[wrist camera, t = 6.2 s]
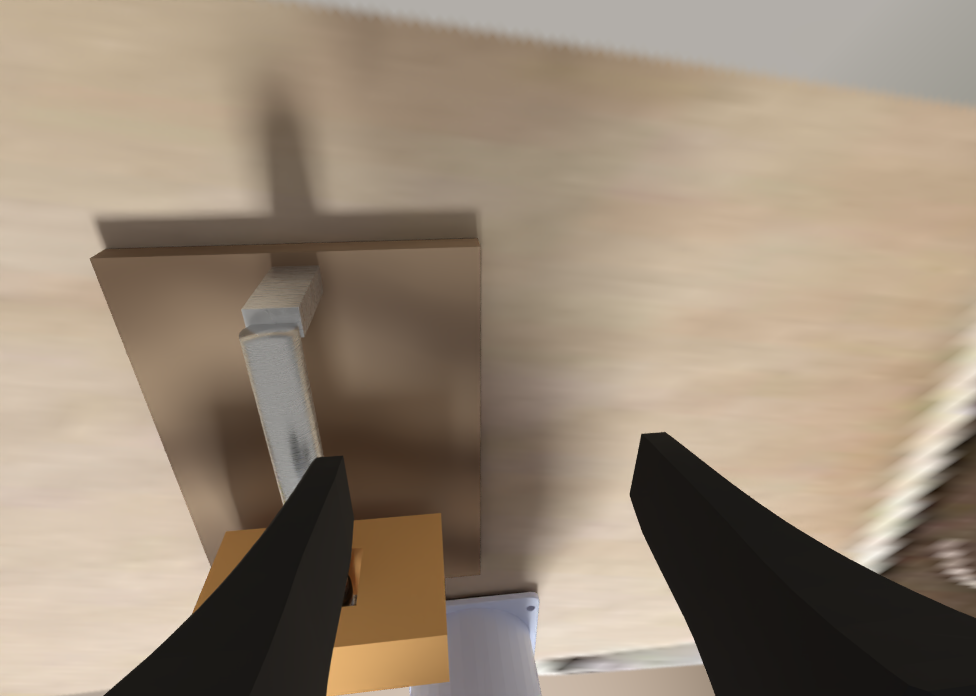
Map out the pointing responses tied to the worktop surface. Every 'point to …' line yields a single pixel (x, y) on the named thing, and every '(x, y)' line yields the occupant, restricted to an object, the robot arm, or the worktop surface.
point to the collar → (378, 603)
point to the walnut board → (315, 377)
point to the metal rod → (285, 373)
